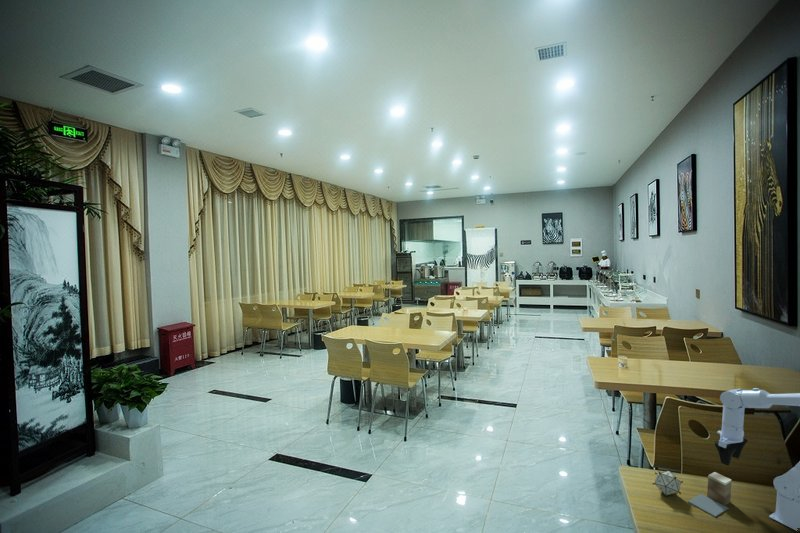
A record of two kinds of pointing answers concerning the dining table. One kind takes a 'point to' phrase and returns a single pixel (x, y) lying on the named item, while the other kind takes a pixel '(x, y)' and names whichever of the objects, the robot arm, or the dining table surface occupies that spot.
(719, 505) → the mat
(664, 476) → the game die
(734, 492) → the dining table surface
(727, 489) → the pinkish beige block
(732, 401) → the robot arm
